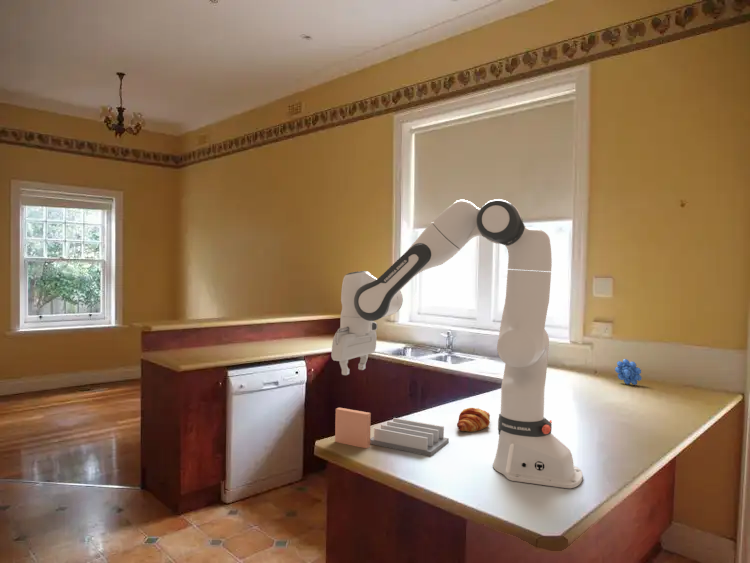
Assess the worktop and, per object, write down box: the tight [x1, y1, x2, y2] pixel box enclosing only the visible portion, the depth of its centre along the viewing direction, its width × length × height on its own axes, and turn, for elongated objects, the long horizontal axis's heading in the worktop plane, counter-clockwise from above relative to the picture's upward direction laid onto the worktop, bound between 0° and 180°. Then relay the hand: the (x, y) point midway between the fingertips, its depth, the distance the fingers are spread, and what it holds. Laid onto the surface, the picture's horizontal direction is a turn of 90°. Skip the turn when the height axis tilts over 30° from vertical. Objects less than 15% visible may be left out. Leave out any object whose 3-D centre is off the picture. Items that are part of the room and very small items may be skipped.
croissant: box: [456, 407, 491, 433], centre depth 177 cm, size 21×10×8 cm, turn 144°
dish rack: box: [370, 417, 449, 457], centre depth 159 cm, size 20×14×5 cm
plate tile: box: [334, 407, 372, 449], centre depth 156 cm, size 11×2×10 cm, turn 61°
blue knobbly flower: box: [614, 358, 642, 386], centre depth 248 cm, size 12×7×12 cm, turn 54°
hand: (353, 372), depth 156 cm, fingers open, 8 cm apart
